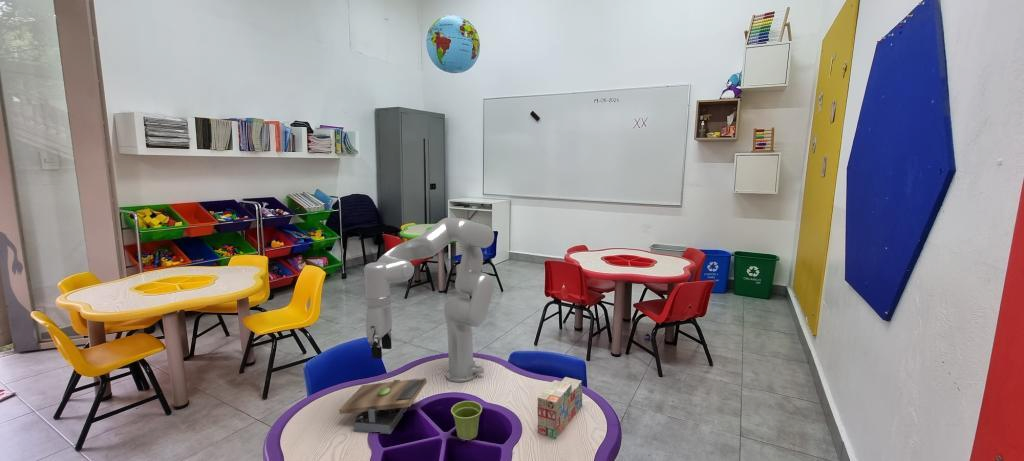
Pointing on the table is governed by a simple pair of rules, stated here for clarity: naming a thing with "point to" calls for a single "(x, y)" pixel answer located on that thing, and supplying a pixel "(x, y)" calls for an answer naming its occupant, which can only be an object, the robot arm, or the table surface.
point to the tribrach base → (378, 420)
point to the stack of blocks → (558, 406)
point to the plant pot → (466, 418)
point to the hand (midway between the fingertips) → (382, 352)
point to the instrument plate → (384, 396)
